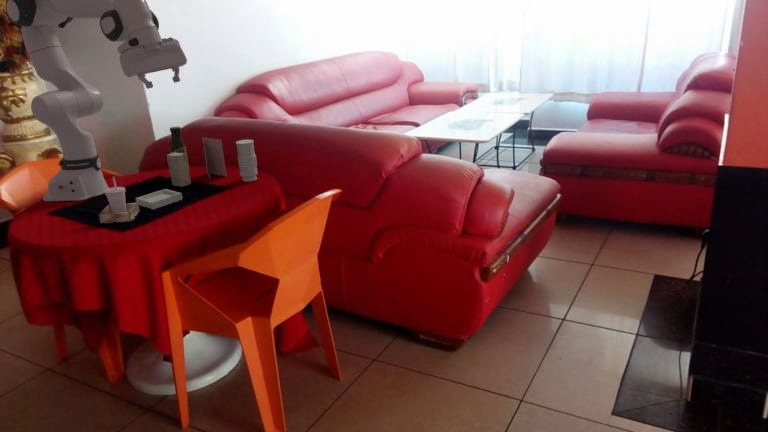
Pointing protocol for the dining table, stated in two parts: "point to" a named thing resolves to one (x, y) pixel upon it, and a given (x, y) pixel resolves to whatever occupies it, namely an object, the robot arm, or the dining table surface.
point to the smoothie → (116, 198)
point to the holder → (119, 214)
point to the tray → (159, 199)
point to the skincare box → (178, 169)
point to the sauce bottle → (177, 142)
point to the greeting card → (214, 156)
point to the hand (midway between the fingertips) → (164, 84)
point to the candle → (247, 160)
